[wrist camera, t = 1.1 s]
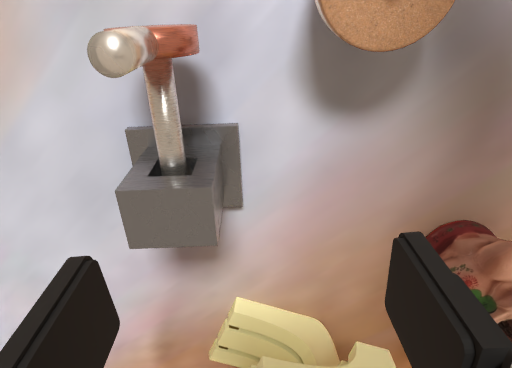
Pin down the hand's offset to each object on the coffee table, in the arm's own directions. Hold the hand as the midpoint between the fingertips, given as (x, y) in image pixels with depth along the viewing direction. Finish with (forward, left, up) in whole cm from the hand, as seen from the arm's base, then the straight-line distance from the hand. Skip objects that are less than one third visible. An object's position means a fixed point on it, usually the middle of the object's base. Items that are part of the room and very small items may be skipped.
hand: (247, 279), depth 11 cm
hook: (+3, -7, -25) cm, 26 cm away
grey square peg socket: (+8, -7, -28) cm, 30 cm away
